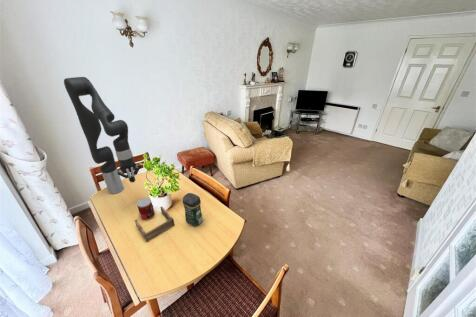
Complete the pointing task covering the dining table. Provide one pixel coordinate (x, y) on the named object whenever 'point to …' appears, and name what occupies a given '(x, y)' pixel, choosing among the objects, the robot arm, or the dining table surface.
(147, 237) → the corral
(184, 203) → the coffee jar
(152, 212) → the canned food
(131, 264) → the dining table surface
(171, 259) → the dining table surface
